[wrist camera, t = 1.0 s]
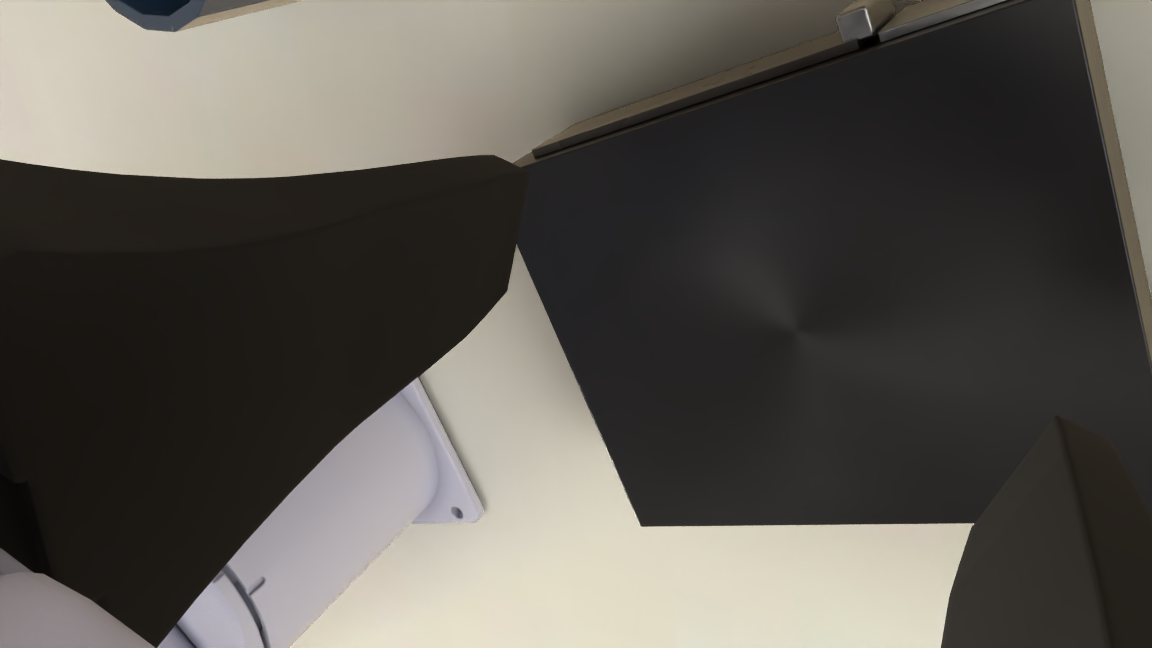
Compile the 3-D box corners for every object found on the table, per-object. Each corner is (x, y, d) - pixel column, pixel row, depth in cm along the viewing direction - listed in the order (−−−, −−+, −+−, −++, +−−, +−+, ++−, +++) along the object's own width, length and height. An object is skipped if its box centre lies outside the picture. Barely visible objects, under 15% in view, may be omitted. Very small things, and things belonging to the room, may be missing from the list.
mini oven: (689, 452, 26) (639, 527, 23) (550, 109, 23) (474, 149, 20) (1176, 419, 19) (1185, 521, 16) (1072, -86, 16) (1062, -62, 13)
